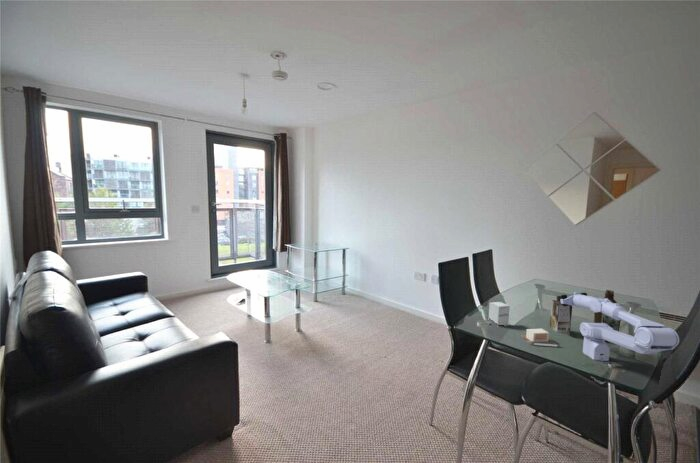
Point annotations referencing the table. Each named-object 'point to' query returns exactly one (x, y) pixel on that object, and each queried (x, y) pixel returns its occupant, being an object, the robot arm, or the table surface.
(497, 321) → the supplement box
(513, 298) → the table surface
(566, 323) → the coffee box
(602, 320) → the olive oil
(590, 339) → the robot arm
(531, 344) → the price rail
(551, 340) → the tan wooden board
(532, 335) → the cream box
